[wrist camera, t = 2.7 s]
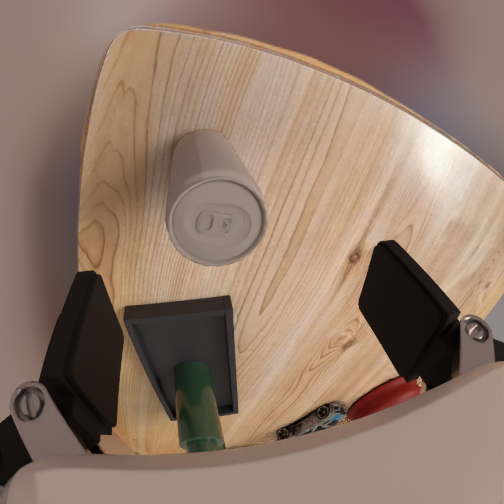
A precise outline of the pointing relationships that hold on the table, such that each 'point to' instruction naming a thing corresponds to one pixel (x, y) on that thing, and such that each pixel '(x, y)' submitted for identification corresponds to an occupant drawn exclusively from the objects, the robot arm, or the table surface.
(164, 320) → the tray
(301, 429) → the toy car
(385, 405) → the table lamp
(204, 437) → the middle bottle
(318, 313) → the table surface
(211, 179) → the beverage can
